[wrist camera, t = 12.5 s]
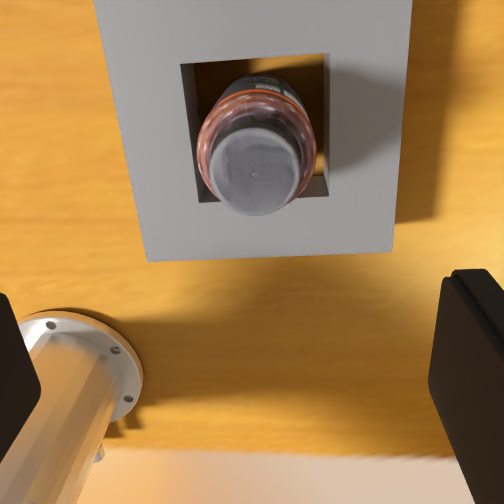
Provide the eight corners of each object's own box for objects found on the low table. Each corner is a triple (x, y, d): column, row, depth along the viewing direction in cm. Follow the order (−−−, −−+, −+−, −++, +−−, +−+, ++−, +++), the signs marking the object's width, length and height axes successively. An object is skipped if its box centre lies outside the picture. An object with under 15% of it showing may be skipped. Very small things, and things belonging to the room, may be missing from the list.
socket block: (379, 226, 32) (392, 252, 29) (160, 235, 34) (147, 261, 30) (396, -38, 25) (416, -46, 21) (115, -13, 26) (89, -16, 23)
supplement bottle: (234, 176, 31) (214, 253, 21) (200, 91, 29) (159, 132, 19) (318, 148, 30) (338, 214, 20) (290, 56, 28) (297, 80, 18)
